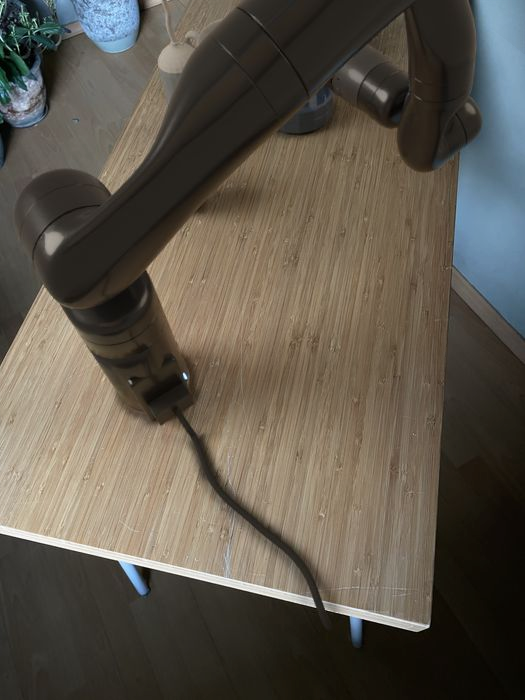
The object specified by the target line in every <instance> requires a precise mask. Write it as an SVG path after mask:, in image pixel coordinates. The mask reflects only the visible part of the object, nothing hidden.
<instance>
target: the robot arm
mask: <svg viewBox="0 0 525 700" xmlns="http://www.w3.org/2000/svg"><path fill="white" fill-rule="evenodd" d="M402 14H403V17H404V23H405V31H406V43H407V69H408V70H407V71H404V70H403V69H402V68H401V67H399V66H397V65H396V64H394V62H392V61H391V60H390V58H388V57H387V56H386V55H385V54H383V53H382V52H381V51H379V50H378V49H377V48H375V47H374V46H372V45H370V42H371V41H372V40H374V39H375V38H376V37H378V36H379V34H381V32H383V31H384V30H385V29H386V28H387V27H389V25H390V24H391V23H392V22H394V21H395V20H396V19H397V18H398V17H400V16H401V15H402ZM222 19H223V20H222V21H221V22H220V23H219V24H218V25H217V26H216V27H215V28H214V29H213V30H212V31H211V32H210V33H209V34H208V35H207V36H206V37H205V38H204V39H203V40H202V42H201V43H200V44H199V45H198V46H197V45H196V47H195V48H196V49H195V50H194V51H193V53H192V54H191V56H190V57H189V59H188V60H187V62H186V64H185V66H184V68H183V70H182V72H181V74H180V77H179V79H178V81H177V84H176V86H175V89H174V91H173V94H172V97H171V99H170V102H169V105H168V104H167V108H166V111H165V114H164V116H163V120H162V123H161V125H160V128H159V130H158V133H157V135H156V137H155V139H154V141H153V143H152V145H151V147H150V149H149V151H148V153H147V154H146V155H145V157H144V159H143V160H142V162H141V163H140V164H139V166H138V167H137V168H136V169H135V170H134V172H133V173H131V175H130V176H129V177H128V178H127V179H126V180H125V181H124V182H123V183H122V185H120V187H118V188H117V190H115V192H114V193H111V192H110V190H109V189H108V187H107V186H106V185H105V184H104V183H103V182H102V181H101V180H100V179H98V178H97V177H96V176H94V175H92V174H90V173H88V172H85V171H83V170H80V169H75V168H70V167H69V168H66V167H65V168H64V167H63V168H55V169H51V170H47V171H44V172H42V173H40V174H38V175H37V176H34V177H33V178H32V179H31V180H30V181H28V182H27V183H26V184H25V185H24V186H23V188H22V189H21V191H20V192H19V194H18V196H17V197H16V200H15V203H14V206H13V211H12V225H13V226H12V227H13V231H14V233H15V236H16V238H17V240H18V241H19V243H20V246H21V247H22V249H23V251H24V253H25V254H26V257H27V259H28V260H29V262H30V264H31V265H32V267H33V269H34V271H35V273H36V275H37V276H38V278H39V280H40V282H41V283H42V285H43V286H44V288H45V289H46V291H47V292H48V294H49V295H50V296H51V297H52V298H53V300H54V301H56V302H57V303H58V304H59V305H60V307H61V310H62V311H63V312H64V314H65V315H66V317H67V319H68V321H69V323H71V325H72V326H73V328H74V329H75V331H76V332H77V334H78V336H79V337H80V338H81V340H82V341H83V343H84V345H85V347H86V348H87V349H88V350H89V352H90V353H91V355H92V356H93V358H94V360H95V361H96V363H97V364H98V366H99V367H100V369H101V370H102V371H103V373H104V374H105V376H106V378H107V379H108V381H109V382H110V383H111V385H112V387H113V388H114V390H115V391H116V392H117V394H118V396H119V398H120V400H121V401H122V403H123V404H124V406H126V407H127V408H128V409H129V410H130V411H132V412H134V413H136V414H138V415H142V416H143V415H144V416H146V417H147V419H148V420H149V421H151V422H152V421H154V420H156V421H157V423H158V424H159V426H163V425H165V424H166V423H168V422H170V421H171V420H172V419H174V418H175V417H176V419H177V420H178V422H179V423H180V424H181V426H182V428H183V429H184V431H185V432H186V433H187V435H188V436H189V437H190V439H191V441H192V443H193V446H194V448H195V451H196V454H197V455H198V458H199V461H200V465H201V468H202V470H203V473H204V475H205V477H206V479H207V481H208V483H209V484H210V486H211V487H212V489H213V490H214V492H215V493H216V494H217V495H218V497H219V498H220V499H221V500H222V501H223V502H224V503H225V504H226V505H227V506H229V508H231V509H232V510H233V511H234V512H235V513H237V514H238V515H239V516H240V517H242V519H244V520H245V521H246V522H247V523H248V524H250V526H252V527H253V528H254V529H255V530H256V531H257V532H259V533H260V534H261V535H262V536H263V537H264V538H266V539H267V540H268V541H270V543H272V544H274V545H275V546H276V547H278V548H279V549H280V550H281V551H282V552H283V553H284V554H285V555H286V556H288V557H289V559H290V560H291V561H292V562H293V563H294V564H295V565H296V567H297V568H298V569H299V571H300V573H301V575H302V576H303V577H304V579H305V581H306V584H307V586H308V589H309V591H310V594H311V597H312V600H313V603H314V606H315V609H316V611H317V614H318V617H319V618H320V621H321V623H322V625H323V627H324V628H325V630H327V631H330V630H332V628H333V624H332V621H331V619H330V617H329V615H328V612H327V610H326V607H325V605H324V603H323V599H322V597H321V593H320V590H319V588H318V585H317V583H316V580H315V578H314V575H313V574H312V573H311V571H310V569H309V567H308V565H307V564H306V563H305V562H304V560H303V559H302V558H301V556H300V555H299V554H298V553H297V552H296V551H295V550H294V549H293V548H292V547H291V546H290V545H289V544H288V543H286V542H285V541H283V539H281V538H280V537H279V536H277V534H275V533H273V532H272V531H271V530H269V529H268V528H267V527H266V526H265V525H264V524H263V523H261V522H260V521H259V520H258V519H257V518H256V517H255V516H253V515H252V514H251V513H250V512H249V511H248V510H246V509H245V508H244V507H243V506H241V504H239V503H238V502H236V501H235V500H234V499H233V498H232V497H231V496H230V495H229V494H228V493H227V492H226V491H225V490H224V488H223V487H222V486H221V485H220V483H219V482H218V481H217V479H216V477H215V475H214V473H213V472H212V470H211V467H210V464H209V462H208V458H207V455H206V453H205V450H204V447H203V444H202V442H201V440H200V438H199V436H198V434H197V432H196V431H195V430H194V428H193V427H192V426H191V424H190V423H189V421H188V420H187V418H186V417H185V415H184V414H183V413H184V412H185V411H187V410H188V409H190V408H191V407H192V406H194V405H195V404H196V402H195V400H194V398H193V396H192V395H193V394H192V392H191V389H190V383H191V376H190V375H191V374H190V370H189V368H188V365H187V363H186V361H185V360H184V357H183V354H182V353H181V350H180V348H179V347H180V346H179V344H178V342H177V339H176V338H175V335H174V333H173V330H172V328H171V325H170V323H169V321H168V318H167V315H166V313H165V310H164V307H163V305H162V302H161V300H160V297H159V296H158V293H157V290H156V288H155V285H154V283H153V281H152V278H151V276H150V274H149V272H148V271H147V269H148V268H149V266H150V265H151V264H152V263H153V262H154V261H155V260H156V258H158V256H159V255H160V254H161V253H162V251H163V250H164V249H165V248H166V247H167V246H168V245H169V243H170V242H171V241H172V240H173V238H174V237H175V236H176V235H177V234H178V232H179V231H180V230H181V229H182V228H183V226H185V225H186V223H187V222H188V221H189V220H190V219H191V217H192V216H194V214H195V213H196V212H197V211H198V210H199V209H200V208H201V207H202V205H203V204H204V203H205V202H206V201H207V200H208V199H209V198H210V197H211V196H212V195H213V194H214V193H215V192H216V191H217V190H218V189H219V188H220V187H221V186H222V184H224V183H225V181H227V180H228V179H229V177H231V175H233V173H235V171H236V170H238V169H239V168H240V167H241V166H242V164H243V163H244V162H245V161H247V159H248V158H250V157H251V156H252V154H254V153H255V152H256V151H257V150H258V149H259V148H260V147H261V146H262V145H264V144H265V142H267V141H268V140H269V139H270V138H271V137H273V136H274V135H275V134H276V133H278V131H280V130H279V129H280V128H281V127H282V126H283V125H285V124H286V123H287V122H288V121H289V120H290V119H291V118H292V117H293V116H294V115H295V114H296V113H297V112H298V111H299V110H300V109H301V108H302V107H303V106H304V105H305V104H306V103H307V102H308V101H309V100H311V98H312V97H313V96H314V95H315V94H316V93H317V92H318V91H319V90H320V89H321V88H322V87H323V86H324V85H325V86H327V87H328V88H329V89H330V90H332V91H333V92H334V93H335V94H336V95H337V96H338V97H339V98H340V99H342V100H343V101H344V102H346V103H347V104H349V105H350V106H352V107H354V108H356V109H358V110H360V111H361V112H362V113H364V115H366V116H367V117H369V118H370V119H371V120H373V121H374V123H376V124H378V125H379V126H381V127H382V128H385V129H387V130H395V129H396V147H397V151H398V153H399V154H398V155H399V156H400V158H401V160H402V161H403V163H404V164H405V165H406V166H407V167H408V168H409V169H411V170H412V171H414V172H417V173H421V174H426V173H428V174H429V173H431V172H434V171H436V170H438V169H439V168H441V167H442V166H443V165H445V164H446V163H447V162H448V161H449V160H450V159H452V158H453V157H455V155H457V154H458V153H459V152H461V151H462V150H463V149H464V148H466V147H467V146H468V145H469V144H470V143H471V142H473V141H474V140H475V139H476V138H477V137H478V136H479V134H480V133H481V131H482V127H483V115H482V111H481V109H480V107H479V106H478V104H477V102H476V101H475V100H474V99H473V98H472V97H471V96H470V94H471V93H472V89H473V84H474V78H475V77H474V76H475V66H476V56H477V44H478V43H477V30H476V23H475V19H474V14H473V10H472V8H471V4H470V0H241V1H239V2H238V3H237V4H236V5H235V7H234V8H232V9H231V11H229V12H228V13H227V14H226V16H224V18H222ZM200 206H201V207H200ZM199 207H200V208H199ZM198 208H199V209H198ZM197 209H198V210H197Z"/></svg>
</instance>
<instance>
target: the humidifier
mask: <svg viewBox="0 0 525 700" xmlns="http://www.w3.org/2000/svg"><path fill="white" fill-rule="evenodd" d="M160 2H161V4H162V7H163V9H164V11H165V12H164V13H165V28H166V31H167V33H168V37H169V39H170V43H169V44H167V45H166V46H165V47H164V48H163V49H162V50H161V52H160V54H159V56H158V59H157V66H158V72H159V77H160V80H161V84H162V88H163V93H164V97H165V100H166V104H167V106H168V105H169V102H170V99H171V97H172V94H173V91H174V89H175V86H176V84H177V81H178V79H179V77H180V74H181V72H182V70H183V68H184V66H185V64H186V62H187V60H188V59H189V57H190V56H191V54H192V53H193V51H194V50H195V49H194V48H193V47H191V46H190V45H188V44H186V43H185V32H184V27H183V20H182V19H183V18H182V17H183V16H182V15H183V14H182V10H181V9H180V7H179V5H178V1H175V5H176V7H177V9H178V10H179V13H180V23H181V30H182V34H183V42H182V41H179V40H178V38H177V35H176V33H175V30H174V27H173V23H172V21H173V20H172V19H173V18H172V16H173V15H172V14H173V13H172V9H171V6H170V5H169V2H168V0H160Z"/></svg>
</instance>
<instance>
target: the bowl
mask: <svg viewBox="0 0 525 700" xmlns="http://www.w3.org/2000/svg"><path fill="white" fill-rule="evenodd" d="M335 94H336V93H334V92H333V91H332V90H330V89H329V88H328V87H327V86H325V85H324V86H323V87H322V88H321V89H320V90H319V91H318V92H317V93H316V94H315V95H314V96H313V97H312V98H311V100H309V101H308V102H307V103H306V104H305V105H304V106H303V107H302V108H301V109H300V110H299V111H298V112H297V113H296V114H295V115H294V116H293V117H292V118H291V119H290V120H289V121H288V122H287V123H286V124H285V125H283V126H282V127H281V128H280V129H279V130H278V131H280V132H283V133H285V134H305V133H308V132H314V131H316V130H317V129H319V128H321V127H323V126H325V125H326V124H327V123H328V122H329V121H330V120H331V118H332V117H333V116H334V111H335V105H336V103H335V102H336V101H335V100H336V95H335Z"/></svg>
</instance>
